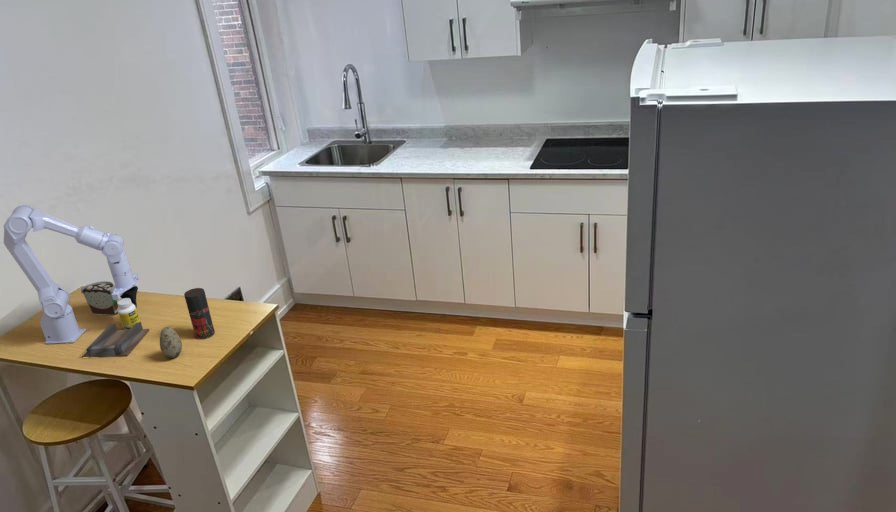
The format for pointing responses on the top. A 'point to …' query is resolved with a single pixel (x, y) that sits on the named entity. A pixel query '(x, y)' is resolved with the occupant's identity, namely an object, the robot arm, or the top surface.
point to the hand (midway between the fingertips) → (133, 308)
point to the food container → (101, 298)
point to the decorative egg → (170, 342)
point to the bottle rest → (116, 341)
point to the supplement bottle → (128, 313)
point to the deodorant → (199, 313)
